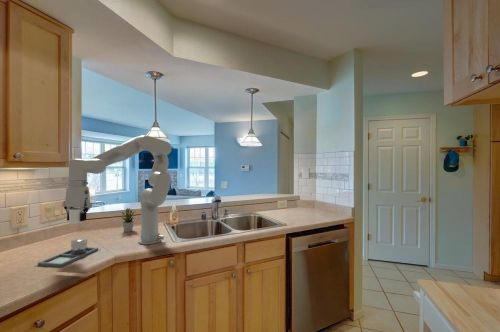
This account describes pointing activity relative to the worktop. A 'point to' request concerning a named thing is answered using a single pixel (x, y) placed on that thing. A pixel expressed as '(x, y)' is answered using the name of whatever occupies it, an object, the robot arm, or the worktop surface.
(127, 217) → the house plant
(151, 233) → the robot arm
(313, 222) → the worktop surface
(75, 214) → the white cylinder
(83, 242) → the block
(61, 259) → the divided tray
